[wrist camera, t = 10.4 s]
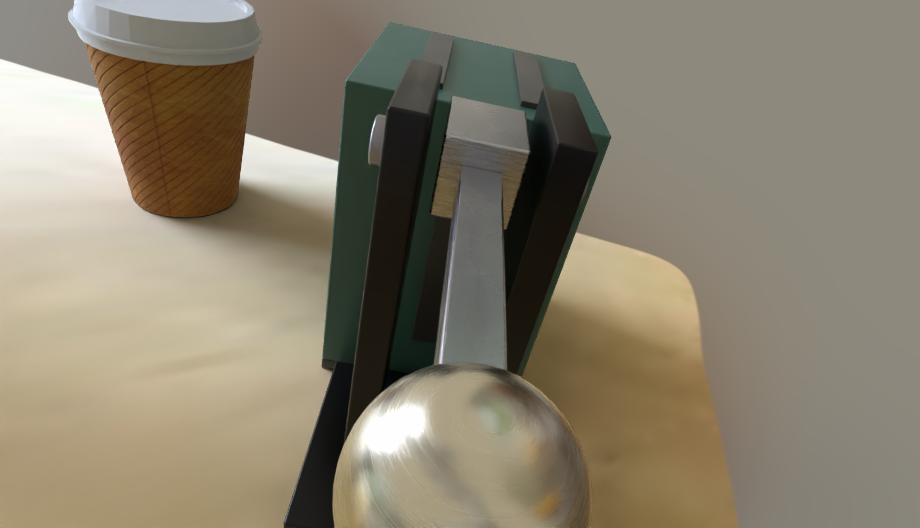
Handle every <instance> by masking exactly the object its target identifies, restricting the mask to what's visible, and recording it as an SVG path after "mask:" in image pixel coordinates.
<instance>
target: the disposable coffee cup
mask: <svg viewBox="0 0 920 528" xmlns="http://www.w3.org/2000/svg"><path fill="white" fill-rule="evenodd" d="M68 17H69V22H70V23H71V24H72V25H73V26H74V28H75V29H77V33H78V36H79V37H80V38H81V39H82V40H83V41H84V43H85V46H86V49H87V52H88V56H89V59H90V62H91V65H92V69H93V72H94V75H95V79H96V82H97V85H98V88H99V91H100V94H101V97H102V101H103V104H104V107H105V111H106V114H107V117H108V119H109V123H110V126H111V129H112V133H113V136H114V139H115V143H116V145H117V148H118V152H119V155H120V158H121V161H122V164H123V167H124V171H125V174H126V177H127V181H128V184H129V187H130V190H131V193H132V198H133V199H134V201H135V202H136V203H137V204H138V205H139V206H140V207H142V208H144V209H146V210H148V211H150V212H153V213H156V214H160V215H164V216H172V217H199V216H205V215H210V214H213V213H217V212H219V211H222V210H224V209H226V208H228V207H229V206H231V205H232V204H233V203H234V202H235V200H236V199H237V196H238V188H239V179H240V171H241V163H242V154H243V147H244V138H245V128H246V120H247V114H248V113H247V112H248V103H249V98H250V89H251V80H252V71H253V63H254V55H255V54H256V53H257V51H258V49H259V44H260V43H261V42H262V40H263V32H262V31H261V30H260V28H259V27H258V26H257V23H256V18H255V13H254V9H253V7H252V6H251V5H249V3H247V2H245V1H244V0H74V8H73V9H72V10H71V11H69V14H68Z"/></svg>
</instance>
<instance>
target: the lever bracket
mask: <svg viewBox="0 0 920 528" xmlns="http://www.w3.org/2000/svg"><path fill="white" fill-rule="evenodd" d="M442 70H443V68H442V66H441V65H439V64H434V63H429V62H425V61H420V60H416V59H410V61H409V63H408V65H407V67H406V69H405V71H404V73H403V75H402V78H401V80H400V82H399V84H398V86H397V88H396V91H395V93H394V95H393V97H392V99H391V101H390V104H389V106H388V108H387V112H386V116H385V115H380V114H379V115H377V116H376V118H375V120H374V123H373V127H372V132H371V137H370V143H369V151H368V162H369V165H372V166H376V167H379V174H378V182H377V190H376V198H375V206H374V213H373V221H372V229H371V237H370V244H369V252H368V260H367V268H366V276H365V283H364V291H363V299H362V307H361V314H360V322H359V330H358V338H357V346H356V353H355V361H354V364H350V363H344V362H338V361H337V362H336V363H335V366H334V370H333V373H332V376H331V379H330V382H329V385H328V388H327V391H326V394H325V397H324V400H323V404H322V407H321V410H320V413H319V416H318V419H317V422H316V425H315V428H314V431H313V434H312V438H311V441H310V444H309V447H308V450H307V453H306V456H305V459H304V462H303V465H302V469H301V472H300V475H299V478H298V481H297V484H296V487H295V490H294V493H293V496H292V499H291V503H290V506H289V509H288V512H287V515H286V518H285V521H284V528H334V518H333V484H334V479H335V474H336V469H337V464H338V460H339V457H340V454H341V451H342V448H343V446H344V444H345V442H346V440H347V437H348V436H349V434H350V432H351V430H352V428H353V426H354V424H355V423H356V421H357V420H358V418H359V417H360V415H361V414H362V413H363V411H364V410H365V409H366V408H367V406H368V405H369V404H370V403H371V402H372V401H373V400H374V399H375V398H376V397H377V396H378V395H379V394H380V393H382V392H383V391H384V390H385V389H387V388H388V387H389V386H390V385H392V384H393V383H394V382H396V381H398V380H399V379H401V378H403V377H404V376H407V375H409V374H407V373H401V372H396V371H390V370H389V365H390V360H391V354H392V349H393V343H394V338H395V332H396V326H397V321H398V315H399V310H400V304H401V299H402V293H403V287H404V282H405V276H406V271H407V265H408V260H409V254H410V248H411V243H412V237H413V232H414V226H415V221H416V215H417V209H418V204H419V198H420V193H421V187H422V182H423V176H424V170H425V165H426V159H427V154H428V148H429V143H430V137H431V131H432V126H433V120H434V115H435V109H436V104H437V98H438V92H439V87H440V81H441V76H442ZM529 144H530V152H531V154H530V157H529V161H528V164H527V167H526V171H525V174H524V177H523V181H522V184H521V187H520V191H519V194H518V197H517V201H516V204H515V207H514V211H513V214H512V217H511V221H510V224H509V227H508V229H507V230H504V258H505V299H506V340H507V371H509V372H512V373H514V374H516V375H517V374H518V371H519V368H520V365H521V363H522V360H523V357H524V354H525V352H526V349H527V346H528V343H529V341H530V338H531V335H532V333H533V330H534V327H535V324H536V322H537V319H538V316H539V313H540V311H541V308H542V305H543V303H544V300H545V297H546V294H547V292H548V289H549V286H550V283H551V281H552V278H553V275H554V273H555V270H556V267H557V264H558V262H559V259H560V256H561V253H562V251H563V248H564V245H565V243H566V240H567V237H568V234H569V232H570V229H571V226H572V223H573V221H574V218H575V215H576V213H577V210H578V207H579V205H580V203H581V202H582V200H583V198H584V196H585V193H586V190H587V187H588V183H589V178H590V174H591V172H592V169H593V166H594V163H595V161H596V158H597V155H598V149H597V146H596V144H595V142H594V139H593V137H592V134H591V132H590V130H589V127H588V125H587V122H586V120H585V118H584V115H583V113H582V110H581V108H580V106H579V103H578V101H577V99H576V96H575V94H573V93H569V92H564V91H559V90H555V89H550V88H546V87H544V88H543V89H542V92H541V95H540V99H539V102H538V106H537V109H536V113H535V116H534V120H533V123H532V127H531V131H530V134H529Z"/></svg>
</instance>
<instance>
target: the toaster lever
mask: <svg viewBox="0 0 920 528" xmlns="http://www.w3.org/2000/svg"><path fill="white" fill-rule="evenodd" d="M530 154H531V152H530V144H529V136H528V127H527V119H526V112H525V111H521V110H516V109H512V108H507V107H502V106H498V105H493V104H489V103H484V102H479V101H475V100H470V99H465V98H461V97H456V96H452V98H451V101H450V107H449V112H448V117H447V122H446V127H445V132H444V138H443V143H442V148H441V153H440V158H439V163H438V169H437V174H436V179H435V185H434V190H433V196H432V201H431V206H430V215H433V216H438V217H443V218H448V219H451V225H450V233H449V241H448V250H447V258H446V266H445V275H444V283H443V291H442V299H441V308H440V316H439V324H438V332H437V341H436V349H435V357H434V365H433V366H429V367H426V368H423V369H420V370H418V371H416V372H413V373H411V374H409V375H407V376H404V377H403V378H401V379H399V380H398V381H396V382H394V383H393V384H392V385H390V386H389V387H388V388H387V389H385V390H384V391H383V392H382V393H380V394H379V395H378V396H377V397H376V398H375V399H374V400H373V401H372V402H371V403H370V404H369V405H368V406H367V408H366V409H365V410H364V411H363V413H362V414H361V415H360V417H359V418H358V420H357V421H356V423H355V424H354V426H353V428H352V430H351V432H350V434H349V436H348V437H347V440H346V442H345V444H344V446H343V448H342V451H341V454H340V457H339V460H338V464H337V469H336V474H335V479H334V484H333V518H334V528H590V525H591V515H592V490H591V480H590V476H589V471H588V467H587V462H586V458H585V455H584V452H583V450H582V447H581V445H580V443H579V441H578V439H577V437H576V434H575V432H574V431H573V429H572V427H571V425H570V423H569V422H568V420H567V419H566V417H565V416H564V415H563V413H562V412H561V411H560V410H559V408H558V407H557V406H556V405H555V404H554V403H553V402H552V401H551V400H550V399H549V398H548V397H547V396H546V395H545V394H544V393H543V392H542V391H540V390H539V389H538V388H537V387H536V386H534V385H533V384H531V383H530V382H528V381H527V380H525V379H523V378H522V377H520V376H518V375H516V374H514V373H512V372H509V371H507V340H506V299H505V258H504V230H507V229H508V227H509V224H510V221H511V217H512V214H513V211H514V207H515V204H516V201H517V197H518V194H519V191H520V187H521V184H522V181H523V177H524V174H525V171H526V167H527V164H528V161H529V157H530Z"/></svg>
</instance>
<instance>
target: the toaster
mask: <svg viewBox="0 0 920 528" xmlns="http://www.w3.org/2000/svg"><path fill="white" fill-rule="evenodd" d="M410 59H416V60H420V61H425V62H429V63H434V64H439V65H441V66H442V68H443V70H442V76H441V81H440V87H439V92H438V98H437V104H436V109H435V115H434V120H433V126H432V131H431V137H430V143H429V148H428V154H427V159H426V165H425V170H424V176H423V182H422V187H421V193H420V198H419V204H418V209H417V215H416V221H415V226H414V232H413V237H412V243H411V248H410V254H409V260H408V265H407V271H406V276H405V282H404V287H403V293H402V299H401V304H400V310H399V315H398V321H397V326H396V332H395V338H394V343H393V349H392V354H391V360H390V365H389V370H390V371H396V372H401V373H407V374H411V373H413V372H416V371H418V370H420V369H423V368H426V367H429V366H433V365H434V357H435V349H436V341H437V332H438V324H439V316H440V308H441V299H442V291H443V283H444V275H445V266H446V258H447V250H448V241H449V233H450V225H451V219H448V218H443V217H438V216H433V215H430V206H431V201H432V196H433V190H434V185H435V179H436V174H437V169H438V163H439V158H440V153H441V148H442V143H443V138H444V132H445V127H446V122H447V117H448V112H449V107H450V101H451V98H452V96H456V97H461V98H465V99H470V100H475V101H479V102H484V103H489V104H493V105H498V106H502V107H507V108H512V109H516V110H521V111H525V112H526V119H527V127H528V136H529V134H530V131H531V127H532V123H533V120H534V116H535V113H536V109H537V106H538V102H539V99H540V95H541V92H542V89H543V88H544V87H546V88H550V89H555V90H559V91H564V92H569V93H573V94H575V96H576V99H577V101H578V103H579V106H580V108H581V110H582V113H583V115H584V118H585V120H586V122H587V125H588V127H589V130H590V132H591V134H592V137H593V139H594V142H595V144H596V146H597V149H598V155H597V158H596V161H595V163H594V166H593V169H592V172H591V174H590V178H589V183H588V187H587V190H586V193H585V196H584V198H583V200H582V202H581V203H580V205H579V207H578V210H577V213H576V215H575V218H574V221H573V223H572V226H571V229H570V232H569V234H568V237H567V240H566V243H565V245H564V248H563V251H562V253H561V256H560V259H559V262H558V264H557V267H556V270H555V273H554V275H553V278H552V281H551V283H550V286H549V289H548V292H547V294H546V297H545V300H544V303H543V305H542V308H541V311H540V313H539V316H538V319H537V322H536V324H535V327H534V330H533V333H532V335H531V338H530V341H529V343H528V346H527V349H526V352H525V354H524V357H523V360H522V363H521V365H520V368H519V371H518V374H517V375H518V376H520V377H522V374H523V372H524V369H525V366H526V364H527V361H528V358H529V356H530V353H531V350H532V348H533V345H534V342H535V340H536V337H537V334H538V332H539V329H540V326H541V324H542V321H543V318H544V316H545V313H546V310H547V308H548V305H549V302H550V300H551V297H552V294H553V292H554V289H555V286H556V284H557V281H558V278H559V276H560V273H561V270H562V268H563V265H564V262H565V260H566V257H567V254H568V252H569V249H570V246H571V244H572V241H573V238H574V236H575V233H576V230H577V228H578V225H579V222H580V220H581V217H582V214H583V212H584V209H585V206H586V204H587V201H588V198H589V196H590V193H591V190H592V187H593V185H594V182H595V179H596V176H597V174H598V171H599V169H600V166H601V163H602V161H603V158H604V155H605V153H606V150H607V147H608V145H609V142H610V139H611V135H610V133H609V131H608V129H607V127H606V125H605V123H604V121H603V119H602V117H601V115H600V113H599V111H598V109H597V107H596V105H595V103H594V101H593V99H592V97H591V95H590V93H589V91H588V89H587V87H586V85H585V83H584V81H583V79H582V77H581V75H580V73H579V70H578V68H577V67H576V65H575V63H571V62H567V61H562V60H558V59H553V58H548V57H544V56H540V55H535V54H531V53H526V52H522V51H517V50H513V49H508V48H504V47H499V46H495V45H491V44H485V43H482V42H477V41H473V40H468V39H464V38H459V37H455V36H450V35H446V34H441V33H437V32H432V31H428V30H423V29H419V28H414V27H409V26H405V25H401V24H396V23H392V22H389V23H388V24H387V26H386V27H385V28H384V30H383V31H382V33H381V34H380V35H379V36H378V38H377V39H376V40H375V42H374V43H373V44H372V46H371V47H370V49H369V50H368V51H367V52H366V54H365V55H364V56H363V58H362V59H361V61H360V62H359V63H358V64H357V66H356V67H355V69H354V70H353V71H352V72H351V74H350V75H349V76H348V78H347V79H346V81H345V90H344V103H343V115H342V127H341V140H340V152H339V163H338V175H337V187H336V199H335V211H334V224H333V236H332V248H331V260H330V272H329V284H328V296H327V308H326V320H325V333H324V345H323V359H322V367H323V368H328V369H334V366H335V363H336V362H337V361H338V362H344V363H350V364H354V361H355V353H356V346H357V338H358V330H359V322H360V314H361V307H362V299H363V291H364V283H365V276H366V268H367V260H368V252H369V244H370V237H371V229H372V221H373V213H374V206H375V198H376V190H377V182H378V174H379V167H376V166H372V165H369V162H368V151H369V143H370V137H371V132H372V127H373V123H374V120H375V118H376V116H377V115H379V114H380V115H385V116H386V112H387V108H388V106H389V104H390V101H391V99H392V97H393V95H394V93H395V91H396V88H397V86H398V84H399V82H400V80H401V78H402V75H403V73H404V71H405V69H406V67H407V65H408V63H409V61H410Z"/></svg>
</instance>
